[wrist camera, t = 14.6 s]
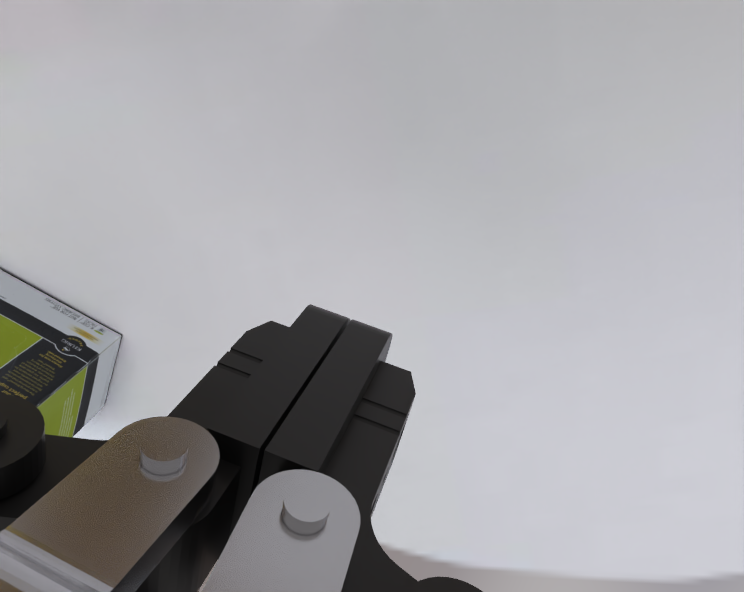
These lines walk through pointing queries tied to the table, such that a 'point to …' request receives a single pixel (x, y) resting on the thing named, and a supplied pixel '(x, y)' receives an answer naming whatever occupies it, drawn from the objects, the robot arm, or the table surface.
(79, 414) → the tea box
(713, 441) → the table surface
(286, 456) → the robot arm
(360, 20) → the table surface
